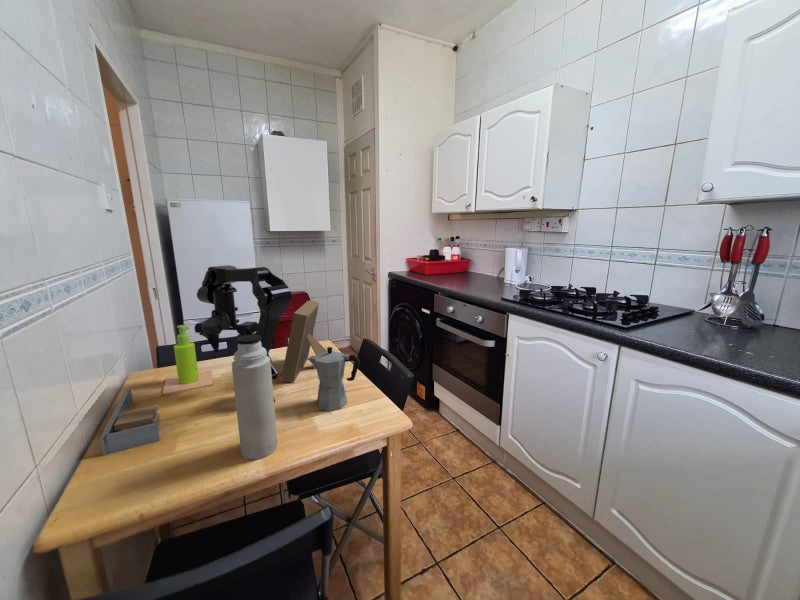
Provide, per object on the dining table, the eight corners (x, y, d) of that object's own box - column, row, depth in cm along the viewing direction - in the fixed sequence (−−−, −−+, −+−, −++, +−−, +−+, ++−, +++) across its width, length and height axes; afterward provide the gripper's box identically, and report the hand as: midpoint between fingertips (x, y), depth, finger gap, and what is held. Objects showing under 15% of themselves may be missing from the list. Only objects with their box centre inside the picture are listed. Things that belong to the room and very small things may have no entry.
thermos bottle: (250, 438, 81) (239, 332, 75) (281, 438, 81) (273, 331, 76) (235, 460, 73) (221, 343, 67) (270, 459, 73) (259, 342, 68)
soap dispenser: (183, 386, 107) (175, 329, 103) (176, 381, 111) (168, 325, 108) (202, 380, 112) (195, 325, 108) (195, 375, 116) (188, 322, 112)
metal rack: (159, 440, 80) (157, 424, 79) (103, 455, 74) (99, 438, 74) (170, 394, 103) (168, 381, 102) (127, 402, 98) (125, 389, 97)
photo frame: (281, 383, 111) (276, 313, 106) (297, 359, 132) (294, 300, 128) (324, 382, 112) (321, 313, 107) (333, 359, 133) (331, 300, 128)
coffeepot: (306, 411, 93) (302, 353, 90) (314, 395, 102) (311, 342, 99) (359, 411, 93) (357, 352, 90) (362, 395, 102) (361, 342, 99)
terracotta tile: (212, 385, 109) (212, 383, 109) (162, 395, 102) (162, 394, 102) (212, 371, 121) (211, 369, 121) (166, 379, 114) (166, 377, 114)
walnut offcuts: (158, 431, 84) (155, 417, 83) (116, 442, 79) (113, 426, 79) (161, 416, 91) (159, 402, 90) (123, 425, 86) (120, 411, 86)
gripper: (177, 310, 94) (184, 360, 97) (236, 312, 92) (241, 363, 95) (204, 302, 105) (210, 348, 108) (257, 304, 103) (261, 350, 106)
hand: (229, 352), depth 104 cm, fingers open, 9 cm apart
